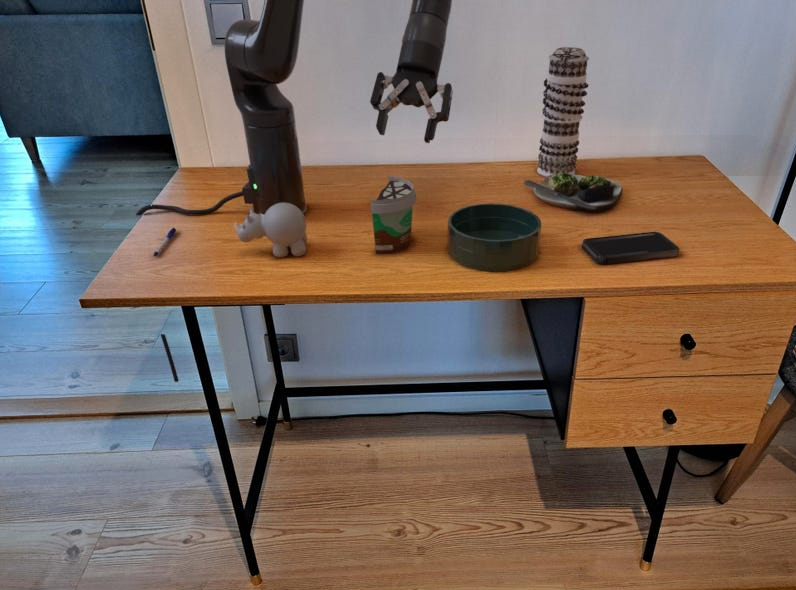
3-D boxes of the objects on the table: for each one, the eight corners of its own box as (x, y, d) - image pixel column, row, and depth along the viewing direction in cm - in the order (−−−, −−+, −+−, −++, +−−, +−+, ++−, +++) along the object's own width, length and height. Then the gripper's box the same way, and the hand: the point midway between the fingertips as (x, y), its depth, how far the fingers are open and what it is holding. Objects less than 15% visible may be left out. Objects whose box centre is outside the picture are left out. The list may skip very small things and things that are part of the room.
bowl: (443, 269, 105) (443, 238, 102) (452, 230, 118) (452, 201, 115) (538, 274, 104) (542, 243, 101) (537, 234, 117) (540, 205, 113)
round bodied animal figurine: (243, 243, 114) (235, 197, 109) (311, 241, 114) (306, 195, 109) (236, 261, 108) (226, 214, 103) (307, 259, 108) (301, 212, 103)
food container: (408, 260, 108) (407, 204, 102) (373, 257, 109) (370, 201, 103) (423, 230, 118) (423, 177, 112) (391, 228, 119) (389, 175, 113)
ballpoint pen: (172, 231, 117) (171, 226, 117) (177, 231, 117) (175, 226, 117) (153, 257, 109) (152, 251, 108) (158, 257, 109) (157, 251, 108)
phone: (580, 239, 112) (658, 231, 114) (579, 245, 113) (657, 236, 115) (599, 259, 106) (682, 250, 108) (598, 265, 106) (680, 256, 109)
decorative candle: (544, 180, 139) (557, 55, 124) (529, 166, 146) (540, 46, 131) (583, 177, 140) (601, 52, 126) (566, 163, 148) (581, 44, 133)
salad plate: (509, 203, 128) (511, 180, 126) (538, 175, 141) (540, 154, 139) (605, 220, 121) (609, 197, 119) (626, 189, 134) (630, 168, 132)
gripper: (463, 63, 117) (444, 151, 118) (388, 51, 119) (370, 137, 120) (459, 44, 110) (439, 137, 111) (380, 31, 112) (360, 123, 113)
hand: (403, 137), depth 115 cm, fingers open, 8 cm apart
